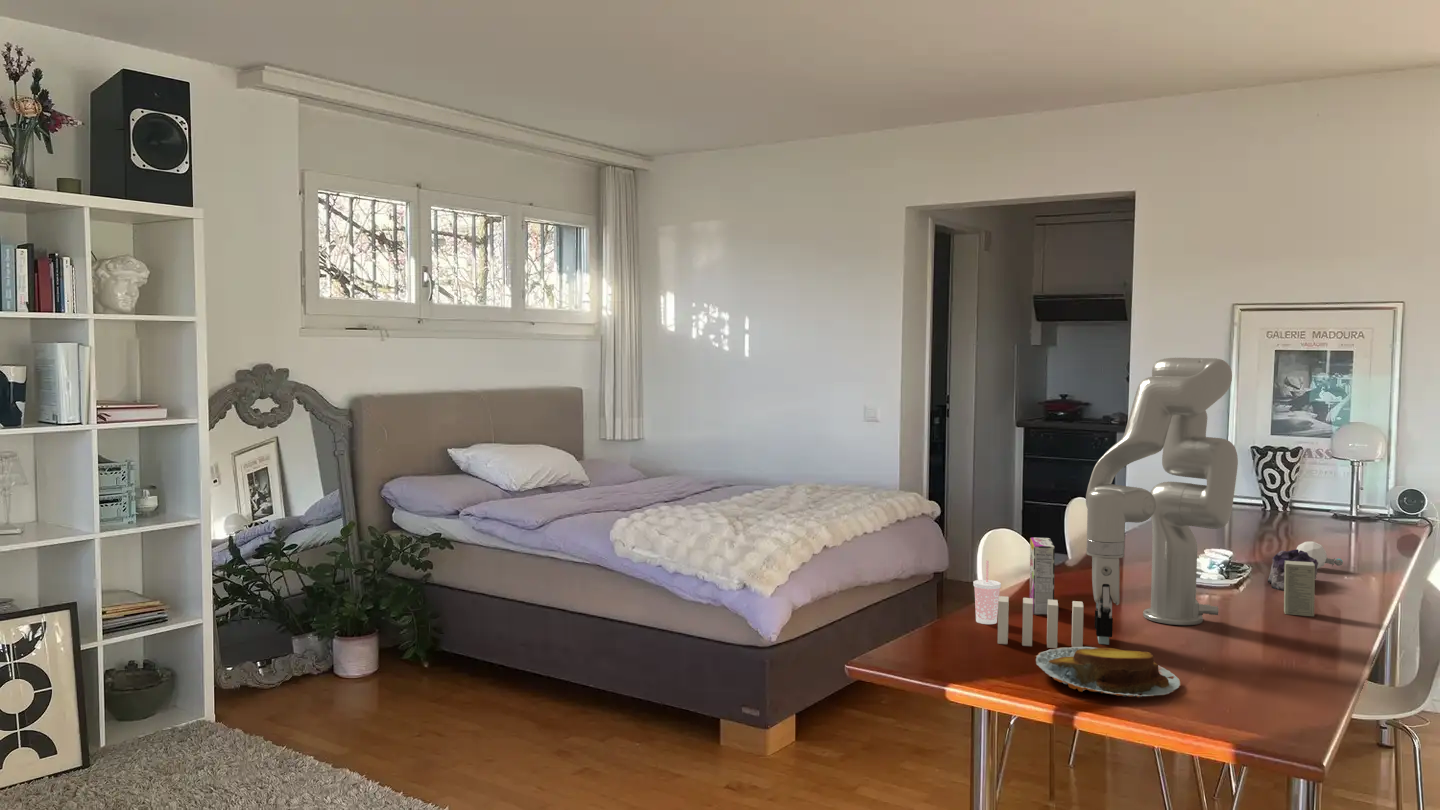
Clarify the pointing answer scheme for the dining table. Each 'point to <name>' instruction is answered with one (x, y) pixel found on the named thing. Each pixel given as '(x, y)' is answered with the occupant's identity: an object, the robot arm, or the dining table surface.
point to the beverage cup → (986, 599)
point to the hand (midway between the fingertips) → (1103, 631)
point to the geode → (1279, 566)
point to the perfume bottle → (1318, 553)
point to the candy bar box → (1041, 573)
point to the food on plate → (1108, 671)
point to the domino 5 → (1101, 639)
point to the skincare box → (1299, 588)
